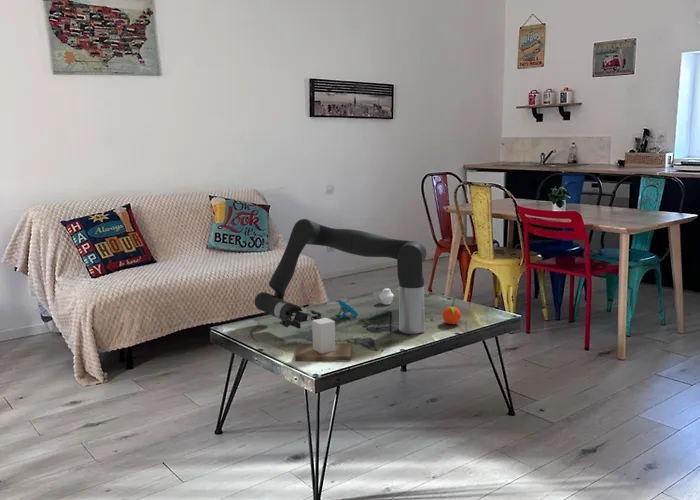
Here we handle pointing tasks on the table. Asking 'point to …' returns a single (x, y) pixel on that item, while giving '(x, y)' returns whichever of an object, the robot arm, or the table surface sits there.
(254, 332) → the table surface
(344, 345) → the base plate
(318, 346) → the block
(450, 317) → the clementine
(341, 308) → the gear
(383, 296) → the white vase
